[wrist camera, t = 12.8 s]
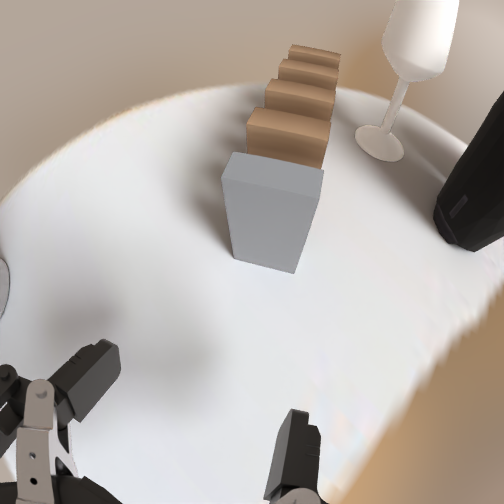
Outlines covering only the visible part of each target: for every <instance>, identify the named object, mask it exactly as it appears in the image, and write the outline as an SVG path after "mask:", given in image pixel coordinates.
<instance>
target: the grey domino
mask: <svg viewBox="0 0 504 504" xmlns="http://www.w3.org/2000/svg"><path fill="white" fill-rule="evenodd" d="M323 174H324V170H321V169H317V168H313V167H309V166H304V165H300V164H296V163H291V162H287V161H282V160H277V159H272V158H267V157H262V156H257V155H251V154H246V153H240V152H234V151H233V153H232V155H231V157H230V159H229V161H228V163H227V165H226V168H225V170H224V172H223V174H222V176H221V181H222V188H223V194H224V200H225V207H226V213H227V219H228V225H229V231H230V237H231V243H232V249H233V255H234V259H237V260H241V261H245V262H248V263H252V264H256V265H260V266H264V267H268V268H272V269H276V270H280V271H284V272H288V273H292V274H294V273H295V270H296V267H297V264H298V262H299V259H300V256H301V253H302V250H303V247H304V244H305V241H306V238H307V235H308V232H309V229H310V226H311V223H312V220H313V217H314V214H315V211H316V208H317V205H318V202H319V198H320V192H321V186H322V180H323Z"/></svg>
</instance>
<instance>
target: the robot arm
mask: <svg viewBox="0 0 504 504" xmlns="http://www.w3.org/2000/svg"><path fill="white" fill-rule="evenodd" d="M8 292H9V271H8V267H7V265H6V263H5V262H4V261H3V260H2V259H1V258H0V318H1V315H2V313H3V311H4V308H5V305H6V302H7V298H8ZM120 371H121V364H120V357H119V348H118V346H117V345H115V344H113V343H111V342H109V341H107V340H106V339H101V340H100V341H99V342H98V343H97V344H96V345H95V346H94V345H92V344H90V345H88V346H85V347H83V348H81V349H80V350H79V351H78V352H77V353H76V354H75V356H72V357H71V358H70V359H69V361H67V362H66V363H65V364H64V365H63V366H62V367H61V368H60V369H58V370H57V371H56V372H55V373H54V374H53V375H52V376H51V377H50V378H49V379H47V380H44V379H37V380H34V381H30V380H27V379H25V378H23V377H20V376H18V374H17V372H16V370H15V368H14V367H12V366H11V365H7V364H4V365H1V366H0V408H1V407H2V406H3V405H4V404H5V403H6V402H7V404H6V405H5V407H4V408H3V409H2V410H1V411H0V458H1V457H2V456H3V454H4V453H5V452H6V450H7V449H8V448H9V446H10V445H11V444H12V443H13V441H14V440H15V439H16V437H17V441H16V471H17V482H5V483H0V504H122V503H121V502H120V501H119V500H117V499H116V498H115V497H114V496H113V495H112V494H110V493H109V492H108V491H107V490H106V489H105V488H103V487H101V486H100V485H98V484H96V483H95V482H93V481H91V480H90V479H88V478H87V477H85V476H84V477H83V478H82V479H81V478H78V472H77V468H76V465H75V462H74V460H73V455H72V444H71V428H70V421H71V420H72V419H73V418H74V419H76V420H77V421H78V422H80V423H81V421H82V420H83V419H84V418H85V416H86V415H87V414H88V413H89V412H90V410H91V409H92V408H93V407H94V406H95V404H96V403H97V402H98V401H99V400H100V398H101V397H102V396H103V395H104V394H105V392H106V391H107V390H108V389H109V388H110V386H111V385H112V384H113V383H114V382H115V381H116V379H117V378H118V376H119V374H120ZM308 420H309V413H308V412H305V411H300V410H295V409H291V410H290V411H289V413H288V415H287V417H286V418H285V420H284V422H283V423H282V425H281V427H280V429H279V432H278V435H277V439H276V444H275V449H274V454H273V459H272V463H271V468H270V473H269V477H268V481H267V486H266V490H265V494H264V498H263V499H264V500H269V501H270V503H269V504H328V503H326V502H325V501H324V500H322V499H321V497H320V496H319V494H318V491H317V481H318V470H319V458H320V457H319V456H320V444H321V435H320V433H319V430H318V428H317V426H314V425H308Z"/></svg>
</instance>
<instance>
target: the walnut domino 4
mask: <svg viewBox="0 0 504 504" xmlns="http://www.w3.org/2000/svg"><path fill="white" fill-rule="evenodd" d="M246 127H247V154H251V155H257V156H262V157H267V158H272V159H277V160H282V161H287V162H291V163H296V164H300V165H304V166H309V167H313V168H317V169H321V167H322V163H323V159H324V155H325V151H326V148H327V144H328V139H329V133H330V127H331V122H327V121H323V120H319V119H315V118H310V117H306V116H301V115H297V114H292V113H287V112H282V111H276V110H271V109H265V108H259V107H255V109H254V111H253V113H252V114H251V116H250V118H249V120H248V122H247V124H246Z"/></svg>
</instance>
